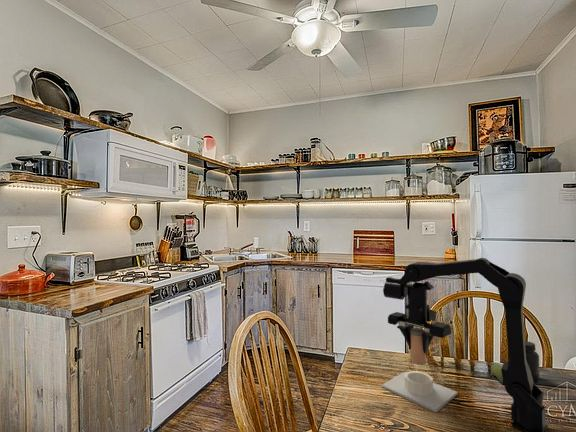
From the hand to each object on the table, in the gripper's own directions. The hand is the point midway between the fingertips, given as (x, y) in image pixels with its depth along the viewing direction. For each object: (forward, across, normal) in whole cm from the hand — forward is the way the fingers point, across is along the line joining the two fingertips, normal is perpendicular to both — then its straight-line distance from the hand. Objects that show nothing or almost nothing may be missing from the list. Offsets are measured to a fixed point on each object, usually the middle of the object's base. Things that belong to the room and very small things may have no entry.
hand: (418, 350), depth 103 cm
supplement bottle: (+13, -20, -35) cm, 42 cm away
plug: (+4, 0, 0) cm, 4 cm away
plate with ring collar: (+13, 0, 0) cm, 13 cm away
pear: (+13, -15, -28) cm, 34 cm away
